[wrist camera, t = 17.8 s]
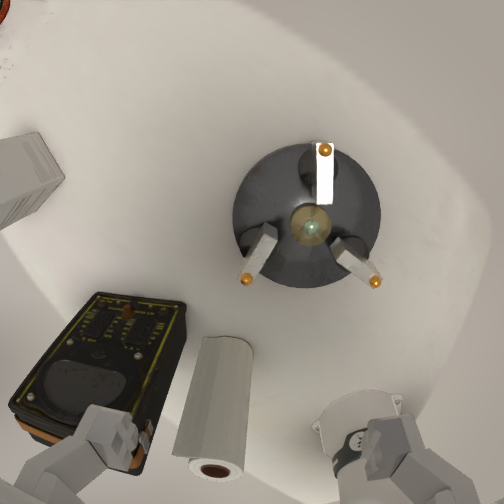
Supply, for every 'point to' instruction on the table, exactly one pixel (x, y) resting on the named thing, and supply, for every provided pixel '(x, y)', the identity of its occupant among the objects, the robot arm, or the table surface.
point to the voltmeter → (105, 369)
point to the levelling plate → (285, 195)
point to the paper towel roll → (217, 410)
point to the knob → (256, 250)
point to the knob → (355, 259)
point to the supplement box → (25, 176)
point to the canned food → (4, 9)
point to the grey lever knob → (319, 171)
